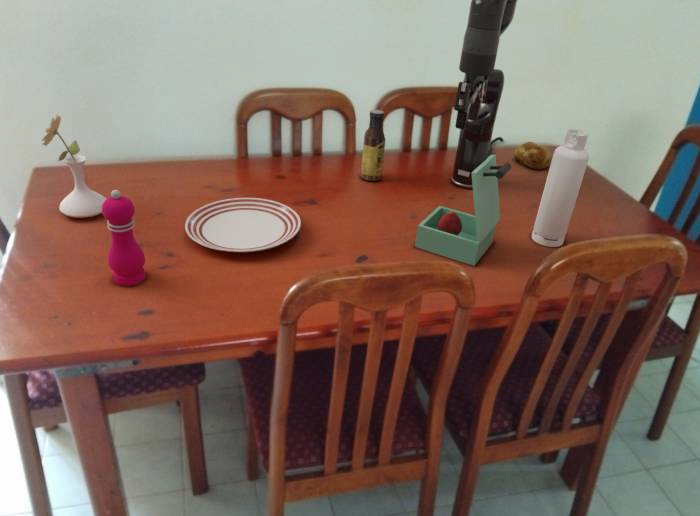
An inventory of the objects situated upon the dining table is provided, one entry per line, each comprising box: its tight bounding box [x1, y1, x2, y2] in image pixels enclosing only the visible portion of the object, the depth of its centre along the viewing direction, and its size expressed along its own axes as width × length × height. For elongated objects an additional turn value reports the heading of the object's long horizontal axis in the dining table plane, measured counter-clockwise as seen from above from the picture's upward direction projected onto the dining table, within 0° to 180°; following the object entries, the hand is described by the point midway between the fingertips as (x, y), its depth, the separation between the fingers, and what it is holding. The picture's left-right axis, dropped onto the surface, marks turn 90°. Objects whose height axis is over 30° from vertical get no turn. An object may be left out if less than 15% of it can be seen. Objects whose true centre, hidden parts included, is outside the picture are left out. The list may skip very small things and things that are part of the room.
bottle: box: [530, 128, 590, 248], centre depth 147 cm, size 8×8×28 cm
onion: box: [438, 209, 462, 236], centre depth 146 cm, size 6×6×8 cm
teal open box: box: [414, 205, 498, 267], centre depth 147 cm, size 15×14×6 cm
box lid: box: [472, 154, 512, 241], centre depth 137 cm, size 16×14×6 cm
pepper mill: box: [101, 189, 146, 287], centre depth 121 cm, size 7×7×20 cm
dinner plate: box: [184, 197, 302, 253], centre depth 145 cm, size 28×27×3 cm
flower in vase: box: [41, 114, 107, 219], centre depth 142 cm, size 13×11×25 cm
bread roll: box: [513, 141, 552, 170], centre depth 197 cm, size 13×10×8 cm
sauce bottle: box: [360, 109, 386, 182], centre depth 174 cm, size 6×6×20 cm
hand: (466, 123), depth 138 cm, fingers open, 8 cm apart
